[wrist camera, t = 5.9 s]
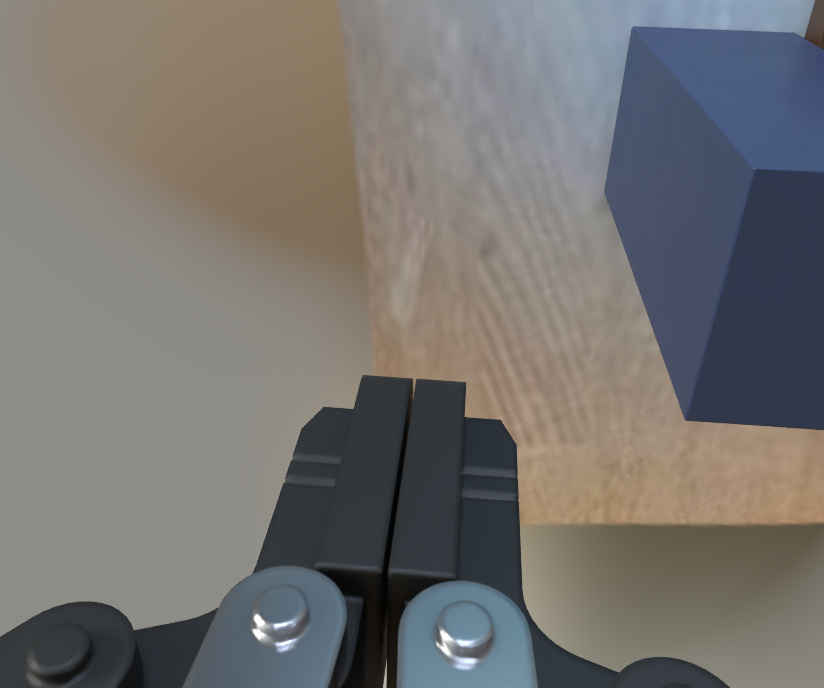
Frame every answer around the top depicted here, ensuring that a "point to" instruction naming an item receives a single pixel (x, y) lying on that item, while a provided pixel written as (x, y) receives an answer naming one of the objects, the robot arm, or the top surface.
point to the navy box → (727, 217)
